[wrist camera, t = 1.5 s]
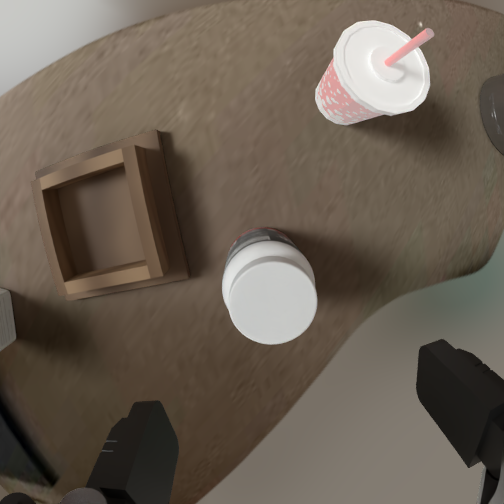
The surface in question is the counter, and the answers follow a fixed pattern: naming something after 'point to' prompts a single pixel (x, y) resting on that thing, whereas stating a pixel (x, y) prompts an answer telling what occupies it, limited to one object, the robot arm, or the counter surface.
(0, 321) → the skincare box
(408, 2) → the counter surface
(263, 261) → the pill bottle
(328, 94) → the beverage cup
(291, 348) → the counter surface
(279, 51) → the counter surface
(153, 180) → the wooden tray
